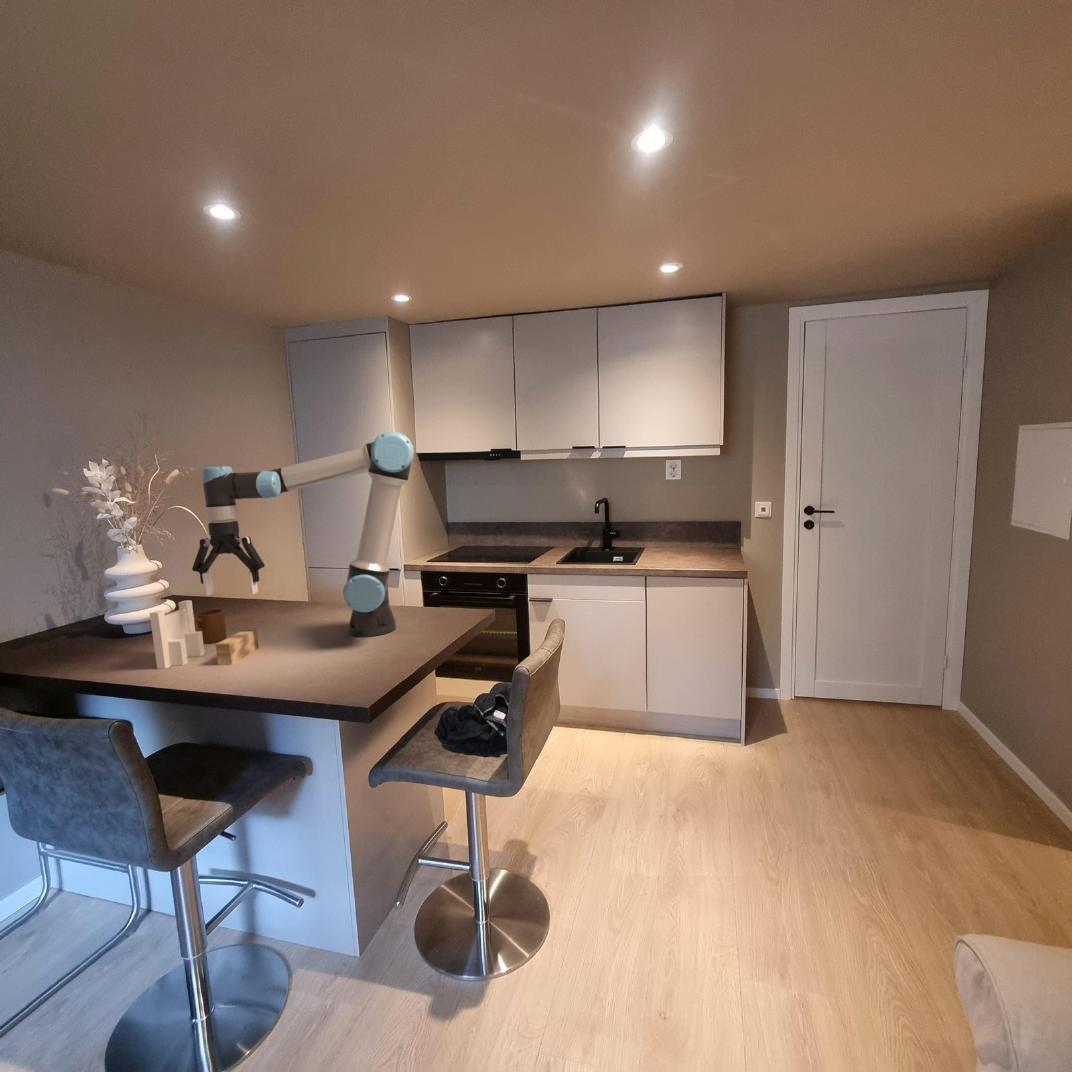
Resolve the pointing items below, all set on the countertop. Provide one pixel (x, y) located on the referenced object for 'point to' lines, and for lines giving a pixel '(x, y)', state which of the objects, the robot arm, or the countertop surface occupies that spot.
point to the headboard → (175, 636)
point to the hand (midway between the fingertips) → (231, 594)
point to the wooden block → (237, 646)
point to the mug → (211, 625)
